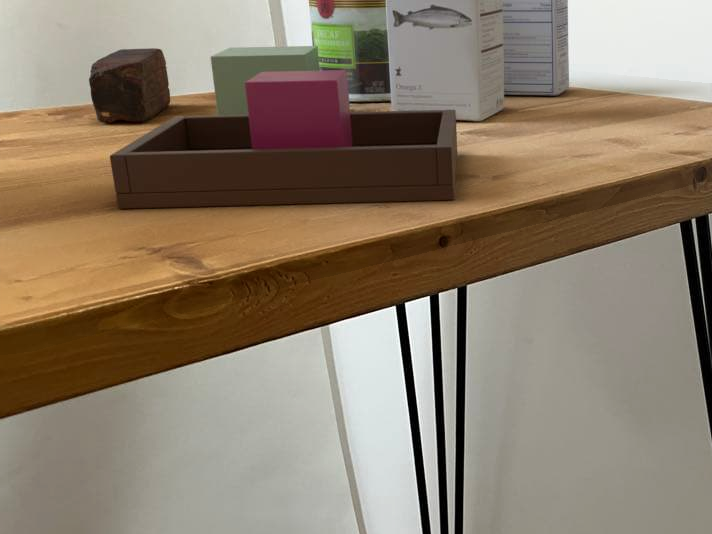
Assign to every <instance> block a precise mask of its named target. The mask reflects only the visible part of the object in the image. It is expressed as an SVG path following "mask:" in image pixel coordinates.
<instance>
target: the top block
mask: <svg viewBox="0 0 712 534" xmlns="http://www.w3.org/2000/svg"><path fill="white" fill-rule="evenodd" d="M245 90H246V98H247V107H248V116H249V124H250V133H251V142H252V149H286V148H327V147H353V143H352V131H351V118H350V112H351V108H350V102H349V93H348V81H347V71H346V70H327V71H281V72H261V73H259V74H258V75H256V76H254V77H253V78H251V79H250V80H248V81H247V82H245Z"/></svg>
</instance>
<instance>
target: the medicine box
mask: <svg viewBox="0 0 712 534" xmlns="http://www.w3.org/2000/svg"><path fill="white" fill-rule="evenodd" d="M503 40H504V96H550V97H551V96H553V97H554V96H555V97H556V96H560V95H562V94H563V93H565V92H566V91H567V90H568V89H569V88H570V62H569V61H570V59H569V58H570V57H569V0H503Z"/></svg>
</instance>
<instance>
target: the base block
mask: <svg viewBox="0 0 712 534" xmlns="http://www.w3.org/2000/svg"><path fill="white" fill-rule="evenodd" d="M210 65H211V72H212V80H213V89H214V95H215V103H216V104H215V105H216V113H217V115H247V114H248V107H247V98H246V90H245V82H247V81H248V80H250V79H251V78H253V77H254V76H256V75H258V74H259V73H261V72H281V71H320V68H319V57H318V47H317V46H313V45H295V46H294V45H293V46H291V45H290V46H288V45H287V46H249V47H247V46H246V47H245V46H243V47H242V46H241V47H228V48H226V49H224V50H222V51H220V52H218V53H214V54H213V55H211V56H210Z"/></svg>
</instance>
